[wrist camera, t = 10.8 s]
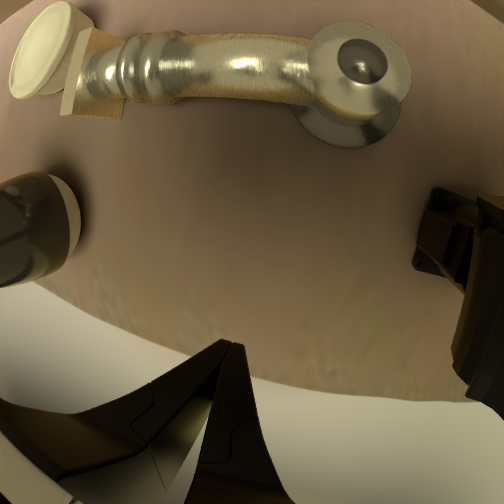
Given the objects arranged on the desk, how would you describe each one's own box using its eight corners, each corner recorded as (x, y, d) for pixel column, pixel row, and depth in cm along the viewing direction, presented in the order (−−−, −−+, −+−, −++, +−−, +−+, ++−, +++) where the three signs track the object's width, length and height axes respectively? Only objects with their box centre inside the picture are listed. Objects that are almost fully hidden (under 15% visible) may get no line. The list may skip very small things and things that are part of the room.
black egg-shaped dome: (110, 200, 22) (-40, 256, 7) (80, 277, 25) (-21, 347, 11) (55, 147, 21) (-67, 169, 7) (34, 223, 25) (-62, 265, 11)
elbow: (384, 68, 14) (414, 33, 8) (377, 136, 16) (411, 125, 10) (180, 47, 16) (136, 16, 10) (169, 109, 18) (117, 95, 12)
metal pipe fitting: (401, 62, 14) (431, 32, 8) (390, 160, 16) (424, 161, 11) (124, 45, 16) (81, 26, 11) (108, 125, 19) (58, 122, 14)
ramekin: (46, 39, 17) (17, 33, 12) (110, -3, 15) (79, -19, 10) (37, 114, 20) (3, 115, 15) (100, 78, 18) (60, 69, 13)
